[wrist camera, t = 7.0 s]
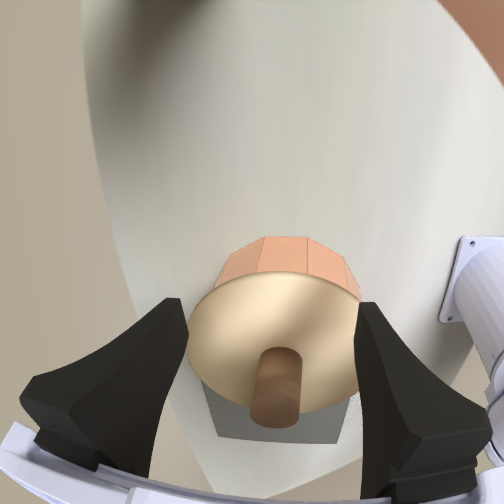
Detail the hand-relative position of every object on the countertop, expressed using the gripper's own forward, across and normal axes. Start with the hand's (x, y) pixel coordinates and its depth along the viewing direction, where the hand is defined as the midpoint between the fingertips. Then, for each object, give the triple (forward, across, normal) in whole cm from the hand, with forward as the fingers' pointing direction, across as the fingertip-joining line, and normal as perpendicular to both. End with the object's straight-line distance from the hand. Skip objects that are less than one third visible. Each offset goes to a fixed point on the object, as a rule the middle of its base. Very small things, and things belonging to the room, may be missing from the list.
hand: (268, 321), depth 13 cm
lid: (+5, 0, +8) cm, 9 cm away
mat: (+10, +1, +22) cm, 24 cm away
